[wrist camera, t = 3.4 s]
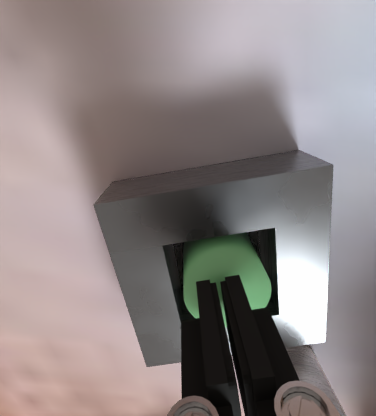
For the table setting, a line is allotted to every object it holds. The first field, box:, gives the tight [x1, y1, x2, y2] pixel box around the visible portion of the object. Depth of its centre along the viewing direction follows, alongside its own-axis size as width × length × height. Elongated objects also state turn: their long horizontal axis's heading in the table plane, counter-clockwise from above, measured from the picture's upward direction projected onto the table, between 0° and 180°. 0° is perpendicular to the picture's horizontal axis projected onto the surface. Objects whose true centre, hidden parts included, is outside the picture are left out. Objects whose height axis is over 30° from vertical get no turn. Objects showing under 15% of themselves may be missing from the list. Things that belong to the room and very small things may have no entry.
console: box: [94, 150, 333, 367], centre depth 13 cm, size 9×9×3 cm
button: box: [183, 232, 271, 327], centre depth 12 cm, size 4×4×4 cm
